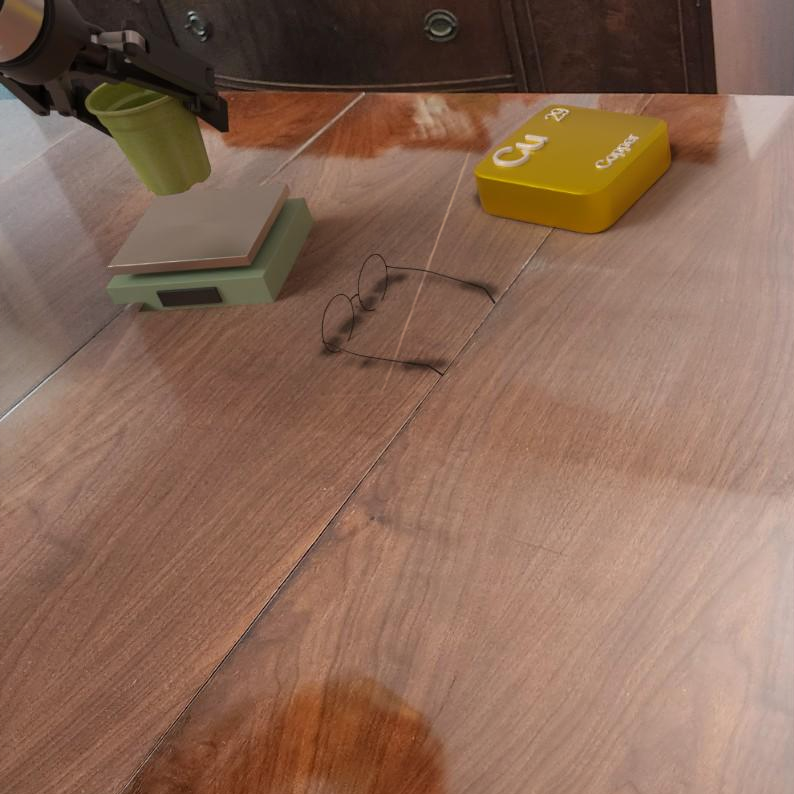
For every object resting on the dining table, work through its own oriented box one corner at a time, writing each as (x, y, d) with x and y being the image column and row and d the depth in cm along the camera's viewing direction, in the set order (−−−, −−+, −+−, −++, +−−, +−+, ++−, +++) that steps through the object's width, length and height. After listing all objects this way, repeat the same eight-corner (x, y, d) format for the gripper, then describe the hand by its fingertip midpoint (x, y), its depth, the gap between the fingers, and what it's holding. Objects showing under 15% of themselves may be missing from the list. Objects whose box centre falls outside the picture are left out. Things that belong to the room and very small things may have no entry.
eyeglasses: (501, 297, 100) (489, 247, 96) (438, 384, 93) (421, 334, 89) (394, 286, 104) (378, 237, 100) (325, 369, 97) (305, 320, 93)
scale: (118, 316, 108) (99, 281, 105) (171, 236, 117) (154, 201, 114) (273, 305, 105) (258, 269, 102) (314, 224, 114) (301, 188, 111)
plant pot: (142, 166, 107) (98, 75, 101) (237, 148, 107) (198, 55, 100) (121, 214, 101) (72, 120, 95) (221, 195, 100) (179, 100, 94)
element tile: (601, 238, 104) (594, 190, 101) (474, 213, 111) (462, 167, 107) (679, 160, 112) (674, 113, 108) (555, 141, 118) (547, 96, 115)
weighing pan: (112, 275, 105) (107, 266, 104) (161, 203, 114) (157, 194, 113) (250, 265, 103) (246, 255, 102) (290, 192, 111) (287, 182, 110)
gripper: (-125, 82, 83) (68, 174, 105) (145, 50, 79) (287, 153, 101) (-133, -22, 83) (63, 92, 105) (139, -60, 79) (283, 68, 101)
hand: (173, 122), depth 103 cm, fingers closed on plant pot, 9 cm apart
